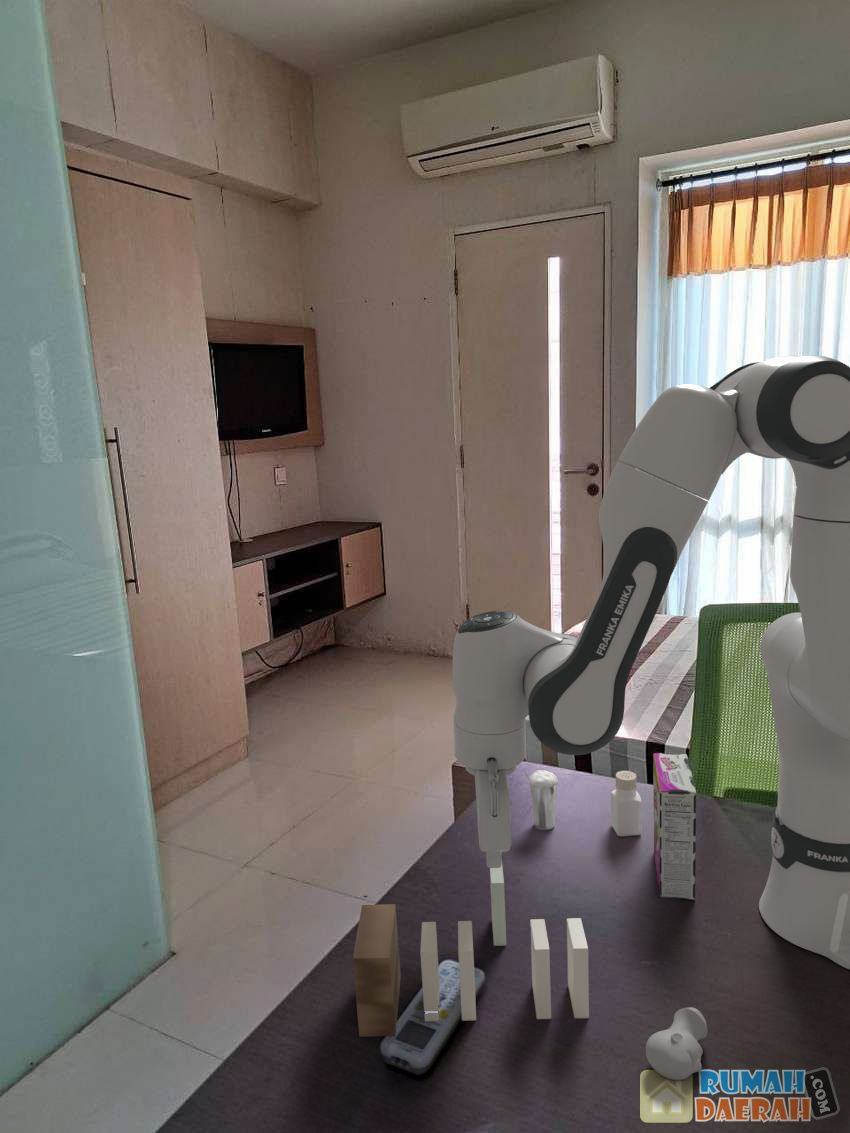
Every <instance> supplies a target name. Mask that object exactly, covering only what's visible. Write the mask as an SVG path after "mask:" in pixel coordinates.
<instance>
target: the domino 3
mask: <svg viewBox="0 0 850 1133" xmlns="http://www.w3.org/2000/svg"><path fill="white" fill-rule="evenodd" d="M502 860H503V859H502V858H501V863H502V865H501V867H500V868H489V881H490V884H489V886H490V905H491V906H490V908H491V925H492V926H491V927H492V939H493V946H494V947H495V946H501V947H502V946H507V926H506V925H507V923H506V901H505V898H506V897H505V894H506V893H505V879H504V871H503V870H504V869H503V861H502Z"/></svg>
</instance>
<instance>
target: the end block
mask: <svg viewBox="0 0 850 1133" xmlns="http://www.w3.org/2000/svg"><path fill="white" fill-rule="evenodd" d="M399 947H400V946H399V935H398V922H397V908H396V904H395V903H391V904H387V903H386V904H383V903H382V904H361V909H360V914H359V921H358V926H357V932H356V938H355V943H354V948H353V954H352V968H353V980H354V989H355V991H354V992H355V1000H356V1001H355V1002H356V1012H357V1023H358V1025H357V1026H358V1034H359V1035H358V1036H359V1037H361V1038H362V1037H395V1036H396V1032H397V1020H398V1009H399V999H400V987H401V986H400V985H401V978H402V976H401V964H400V949H399Z"/></svg>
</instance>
